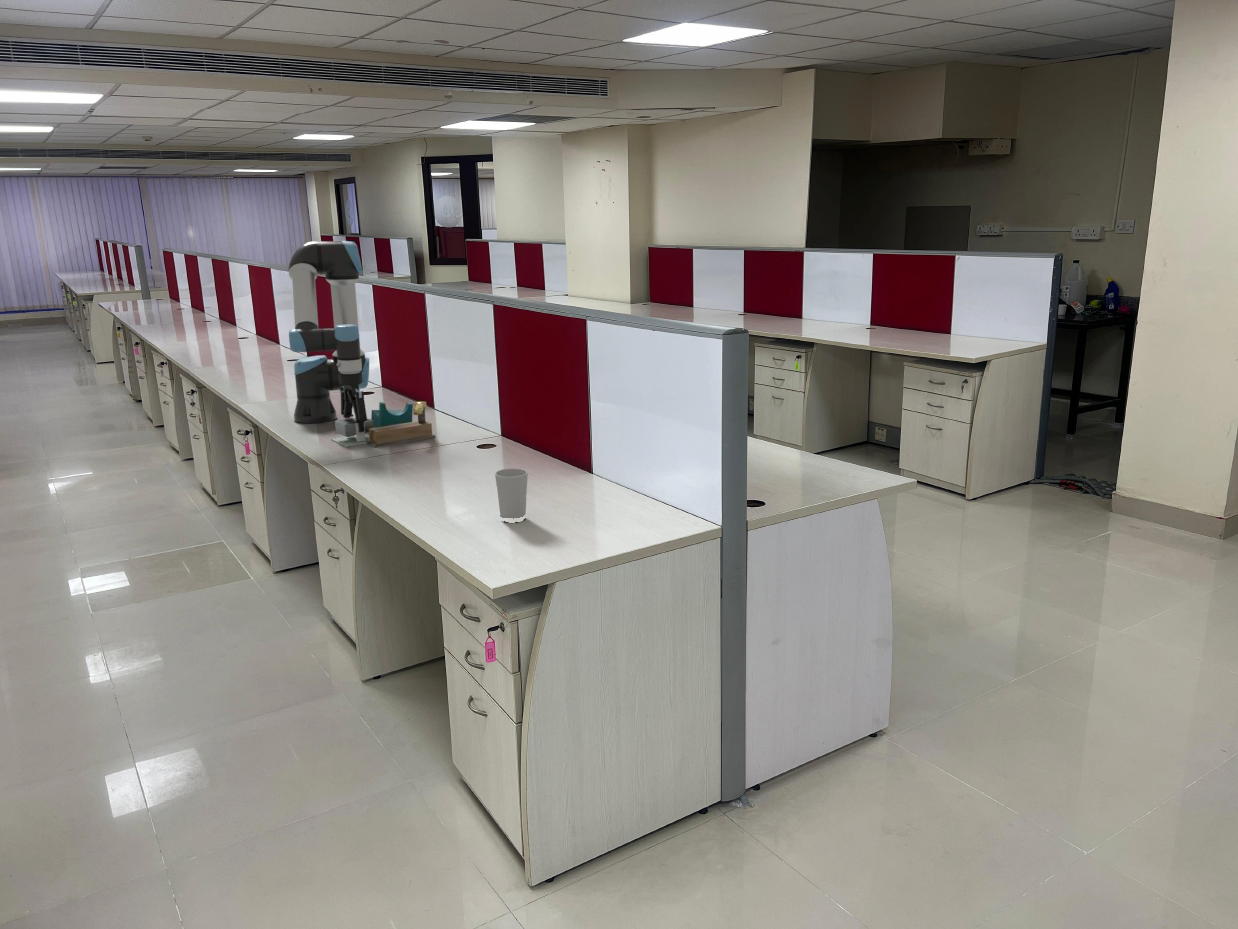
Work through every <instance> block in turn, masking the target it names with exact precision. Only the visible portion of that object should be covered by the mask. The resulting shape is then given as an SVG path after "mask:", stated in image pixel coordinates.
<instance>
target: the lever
mask: <svg viewBox="0 0 1238 929" xmlns="http://www.w3.org/2000/svg"><path fill="white" fill-rule="evenodd" d="M414 404H415V407H414V408H413V415H414V416H415V415H416V416H418V415H421V414H422V411H423V409H425V410H426V409H427V402H426V401H415V402H414Z"/></svg>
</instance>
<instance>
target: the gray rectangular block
mask: <svg viewBox="0 0 1238 929" xmlns="http://www.w3.org/2000/svg"><path fill="white" fill-rule="evenodd" d="M355 421H356V417H353V418H351V419H345V418H344V419H337V420H334V424H335V425H334V426H335V433H336V434H339V435H341V436H343V437H347V436H353V435H356V424H355ZM364 428H365V434H366V435H367V434H369V429H371V428H375V427H374V423H373V420H371V418H368V417H367V421H365V422H364Z"/></svg>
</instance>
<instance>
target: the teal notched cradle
mask: <svg viewBox="0 0 1238 929" xmlns="http://www.w3.org/2000/svg"><path fill="white" fill-rule="evenodd" d="M378 405H379V406H378V409H371V418H370V419H371V420H373V423H374V428H377V427H384V426H390V425H397V424H403V423H409V422H413V413H414V411H413V409H414V408H413V406H414V405H413V403H412V402H406V403H405V406H404V408H403V409H387V405H386V403H385V402H383V401H382V402H379V404H378Z"/></svg>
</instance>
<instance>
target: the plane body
mask: <svg viewBox="0 0 1238 929" xmlns="http://www.w3.org/2000/svg"><path fill="white" fill-rule="evenodd" d="M417 419H418V420H416V421H412V422H409V423H403V424H397V425H390V426H384V427H377V428H375V427H374V428H371V429H369V433H368V435H369V439H370V441H366V444H365V445H367V446H368V445H369V446H371V447H374V448H380V447H386V446H393V445H398V444H405V443H411V442H417V441H423V440H427V439H428V440H429V439H433V438H434V439H435V438H436V437H437V436H436V434H435V433H433V426H432V422H429V421H427V420H426V409H423V411H422V414H421V415H417Z"/></svg>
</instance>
